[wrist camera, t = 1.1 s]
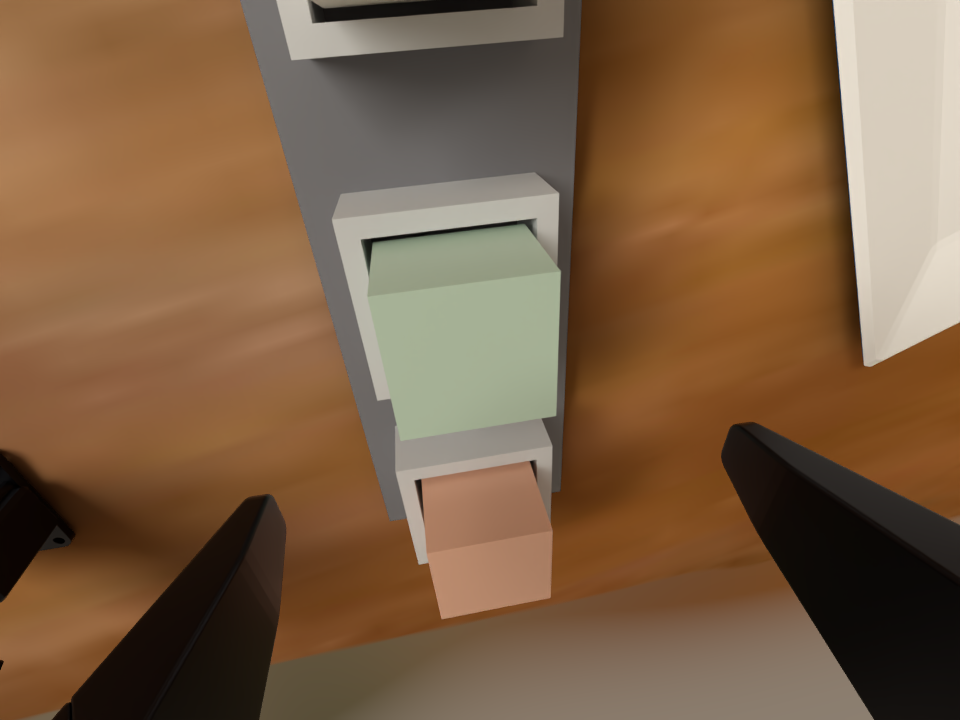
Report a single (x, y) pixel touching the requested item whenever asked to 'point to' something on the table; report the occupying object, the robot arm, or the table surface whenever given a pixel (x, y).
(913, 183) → the plate
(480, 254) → the sage button
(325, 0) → the cream button
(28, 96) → the table surface
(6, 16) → the table surface
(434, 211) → the button panel
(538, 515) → the terracotta button
